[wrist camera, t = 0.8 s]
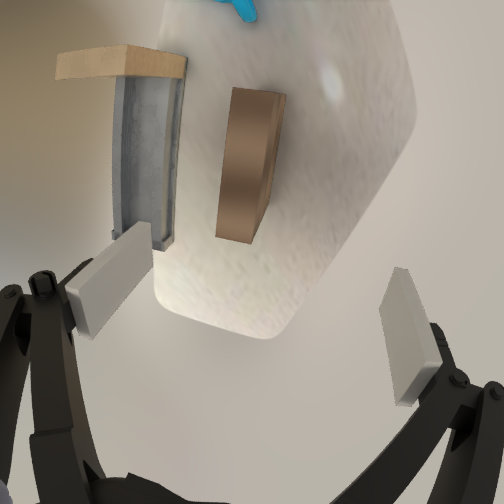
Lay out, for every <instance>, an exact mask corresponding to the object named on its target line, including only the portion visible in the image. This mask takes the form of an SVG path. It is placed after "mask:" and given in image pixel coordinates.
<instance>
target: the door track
mask: <svg viewBox="0 0 504 504" xmlns="http://www.w3.org/2000/svg"><path fill="white" fill-rule="evenodd" d="M187 60H188V58H187V57H183V56H179V55H175V54H171V53H167V52H162V51H158V50H153V49H149V48H144V47H139V46H133V45H128V44H127V45H116V46H107V47H99V48H92V49H85V50H78V51H72V52H66V53H61V54H58V57H57V67H56V78H55V80H69V79H89V78H116V89H115V101H114V117H113V142H112V143H113V144H112V145H113V146H112V189H113V190H112V191H113V192H112V193H113V218H114V229H113V230H112V239H113V240H117V239H118V238H119V237H120V236H121V235H123V234H124V233H125V232H126V231H127V230H129V229H130V228H131V227H132V226H133V225H135V224H136V223H137V222H138V221H142V222H148V223H151V236H152V249H154V250H158V251H163V252H165V250H166V249H167V248H168V247H169V246H170V245H171V244H172V243H173V241H174V210H175V189H176V172H177V157H178V144H179V132H180V121H181V111H182V101H183V92H184V84H185V76H186V68H187Z"/></svg>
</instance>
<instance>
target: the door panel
mask: <svg viewBox="0 0 504 504" xmlns="http://www.w3.org/2000/svg"><path fill="white" fill-rule="evenodd" d="M285 100H286V95H284V94H279V93H274V92H267V91H260V90H253V89H244V88H236V87H233V89H232V96H231V104H230V111H229V119H228V127H227V135H226V143H225V151H224V160H223V168H222V177H221V186H220V196H219V205H218V215H217V225H216V235H215V237H218V238H223V239H228V240H233V241H237V242H242V243H247V244H251V243H252V241H253V239H254V236H255V234H256V232H257V229H258V227H259V225H260V222H261V220H262V218H263V215H264V213H265V211H266V208H267V206H268V203H269V197H270V191H271V185H272V179H273V173H274V167H275V161H276V155H277V149H278V143H279V137H280V130H281V124H282V118H283V112H284V106H285Z"/></svg>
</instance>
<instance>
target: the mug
mask: <svg viewBox="0 0 504 504" xmlns="http://www.w3.org/2000/svg"><path fill="white" fill-rule="evenodd" d="M215 1H218V2H221V3H233V5H234V7H235V8H236V10H237V12H238V14H239V15H240V17H241V18H242V19H243V21H245V22H253V21H255V20H256V19H257V14H256V10H255V7H254V5H253V2H252V0H215Z"/></svg>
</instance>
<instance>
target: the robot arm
mask: <svg viewBox="0 0 504 504" xmlns="http://www.w3.org/2000/svg"><path fill="white" fill-rule="evenodd" d="M152 267H153V255H152V236H151V223H148V222H142V221H138V222H137V223H136V224H135V225H133V226H132V227H131V228H130V229H129V230H127V231H126V232H125V233H124V234H123V235H121V236H120V237H119V238H118V239H117V240H115V241H114V242H113V243H112V244H111V245H110V246H109V247H107V248H106V249H105V250H104V251H103V252H101V253H100V254H99V255H98V256H97V257H96V258H95V259H93V258H90V259H88V260H86V261H84V262H82V263H81V264H80V265H79V266H78V267H77V268H76V269H74V270H73V271H72V272H71V273H70V274H69V275H68V276H66V277H65V278H64V279H63V280H62V281H61V282H60V283H59V284H57V280H56V277H55V274H54V273H53V272H52V271H48V270H46V271H45V270H44V271H40V272H37V273H35V274H33V275H32V276H31V277H30V278H29V280H28V283H29V286H30V289H31V292H32V295H28V294H23V291H22V288H21V286H19V285H16V284H13V285H8V286H6V287H4V288H3V289H2V290H1V291H0V504H13V503H12V499H11V497H10V496H9V491H8V489H7V483H8V478H9V474H10V468H11V461H12V452H13V444H14V437H15V430H16V424H17V418H18V412H19V407H20V402H21V397H22V392H23V388H24V384H25V379H26V375H27V371H28V367H29V363H30V371H31V394H32V409H33V419H34V429H35V430H34V431H35V432H34V434H31V435H30V437H29V443H30V451H31V457H32V464H33V470H34V475H35V481H36V485H37V490H38V495H39V499H40V502H39V503H37V504H229V503H218V502H193V501H188V500H185V499H183V498H182V497H180V496H178V495H176V494H174V493H173V492H171V491H170V490H168V489H166V488H165V487H163V486H161V485H160V484H158V483H155V482H153V481H150V480H147V479H144V478H142V477H139V476H136V475H134V474H131V473H128V475H127V477H126V478H119V477H111V478H106V476H105V473H104V472H103V469H102V468H101V465H100V463H99V460H98V457H97V454H96V450H95V447H94V443H93V439H92V435H91V431H90V427H89V424H88V419H87V415H86V410H85V405H84V401H83V397H82V391H81V385H80V380H79V374H78V368H77V361H76V354H75V347H74V339H73V334H72V330H73V329H74V327H75V326H76V327H77V331H78V334H79V336H82V337H84V338H87V339H90V340H93V339H94V337H95V336H96V335H97V334H98V332H99V331H100V330H101V329H102V327H103V326H104V325H105V324H106V322H107V321H108V320H109V319H110V317H111V316H112V315H113V314H114V312H115V311H116V310H117V309H118V307H119V306H120V305H121V304H122V302H123V301H124V300H125V299H126V298H127V296H128V295H129V294H130V293H131V292H132V290H133V289H134V288H135V287H136V286H137V285H138V283H139V282H140V281H141V280H142V279H143V277H144V276H145V275H146V274H147V273H148V272H149V270H150V269H151V268H152ZM379 311H380V316H381V321H382V326H383V331H384V336H385V341H386V346H387V352H388V358H389V363H390V369H391V376H392V382H393V389H394V396H395V404H396V406H408V407H412V405H413V404H414V403H415V401H416V400H417V399H418V400H419V405H420V406H419V407H418V408H417V410H416V411H415V412H414V413H413V415H412V416H411V417H410V418H409V420H408V421H407V423H406V424H405V425H404V426H403V428H402V429H401V430H400V431H399V432H398V434H397V435H396V436H395V437H394V438H393V440H392V441H391V442H390V443H389V444H388V445H387V446H386V448H385V449H384V450H383V451H382V452H381V453H380V454H379V456H378V457H377V458H376V459H375V460H374V461H373V462H372V463H371V464H370V465H369V466H368V467H367V468H366V469H365V470H364V471H363V472H362V473H361V474H360V475H359V476H358V477H357V478H356V479H355V480H354V481H353V482H352V483H351V484H350V485H349V486H348V487H347V488H346V489H345V490H344V491H343V492H342V493H341V494H340V495H338V496H337V497H336V498H335V499H334V500H333V501H332V502H331V503H330V504H393V503H394V502H395V501H396V500H397V498H398V497H399V496H400V495H401V493H402V492H403V491H404V490H405V489H406V487H407V486H408V485H409V483H410V482H411V481H412V479H413V478H414V477H415V476H416V474H417V473H418V471H419V470H420V469H421V467H422V466H423V465H424V463H425V462H426V460H427V459H428V457H429V456H430V454H431V453H432V451H433V450H434V448H435V447H436V445H437V444H438V442H439V441H440V439H441V438H442V436H443V434H444V433H445V431H446V429H447V428H451V429H452V431H451V435H450V438H449V441H448V445H447V448H446V452H445V455H444V458H443V461H442V464H441V467H440V470H439V473H438V476H437V479H436V481H435V484H434V487H433V489H432V492H431V495H430V497H429V499H428V502H427V504H493V501H494V497H495V492H496V488H497V483H498V478H499V473H500V468H501V462H502V455H503V448H504V387H503V386H502V385H501V384H500V383H498V382H494V381H490V382H488V383H487V384H486V385H485V386H484V388H481V387H478V386H475V385H473V384H470V380H469V378H468V376H467V375H466V374H465V373H464V372H463V371H462V370H460V369H458V368H456V366H455V363H454V360H453V357H452V354H451V351H450V349H449V347H448V343H447V341H446V338H445V336H444V333H443V331H442V330H441V328H440V327H439V326H438V325H437V324H436V323H429V321H428V318H427V316H426V313H425V310H424V308H423V305H422V303H421V300H420V298H419V295H418V293H417V290H416V288H415V285H414V283H413V281H412V278H411V276H410V273H409V271H408V269H403V268H398V267H395V268H394V271H393V274H392V277H391V279H390V282H389V284H388V287H387V290H386V292H385V295H384V298H383V300H382V303H381V305H380V308H379Z"/></svg>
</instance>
